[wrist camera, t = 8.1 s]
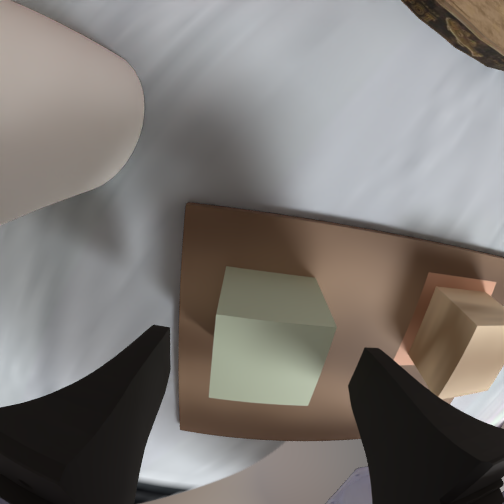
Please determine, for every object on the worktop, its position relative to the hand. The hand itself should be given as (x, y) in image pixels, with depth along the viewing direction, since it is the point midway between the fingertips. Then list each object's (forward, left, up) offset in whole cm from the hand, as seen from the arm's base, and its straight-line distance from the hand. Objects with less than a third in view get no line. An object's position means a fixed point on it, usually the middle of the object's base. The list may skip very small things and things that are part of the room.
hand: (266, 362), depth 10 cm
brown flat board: (-3, -6, -4) cm, 8 cm away
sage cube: (0, 0, -4) cm, 4 cm away
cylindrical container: (+8, +10, -5) cm, 13 cm away
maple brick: (0, -11, -4) cm, 12 cm away
